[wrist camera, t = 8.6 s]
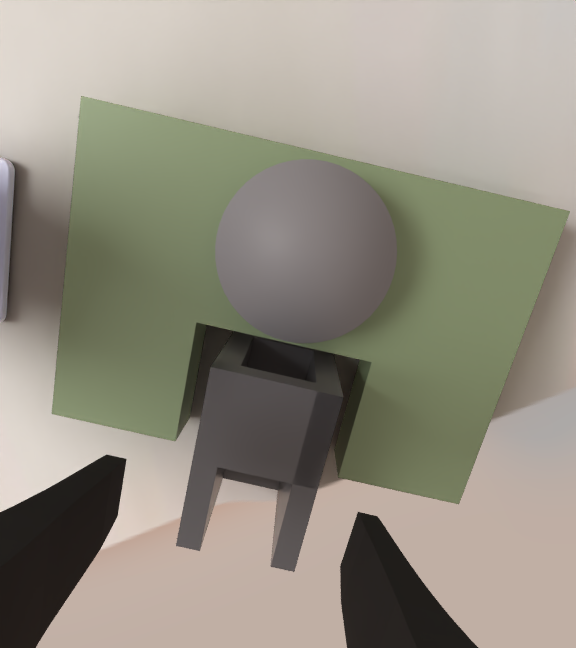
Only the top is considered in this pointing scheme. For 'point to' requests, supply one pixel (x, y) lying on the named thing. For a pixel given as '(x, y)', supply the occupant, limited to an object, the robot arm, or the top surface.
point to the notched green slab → (293, 286)
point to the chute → (264, 435)
